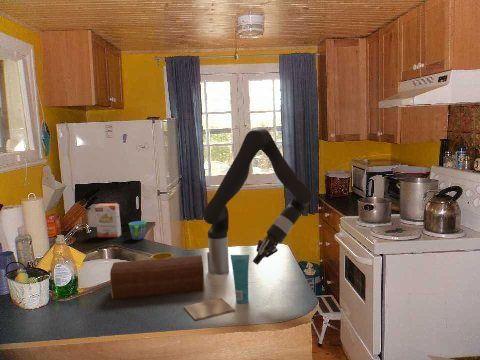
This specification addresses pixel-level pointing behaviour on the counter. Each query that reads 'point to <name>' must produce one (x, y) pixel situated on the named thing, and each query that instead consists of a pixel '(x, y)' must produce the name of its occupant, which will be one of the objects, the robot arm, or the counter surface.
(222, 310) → the cork mat
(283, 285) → the counter surface
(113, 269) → the bread
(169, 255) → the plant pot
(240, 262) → the tube
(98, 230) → the cracker box
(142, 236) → the snack cup
